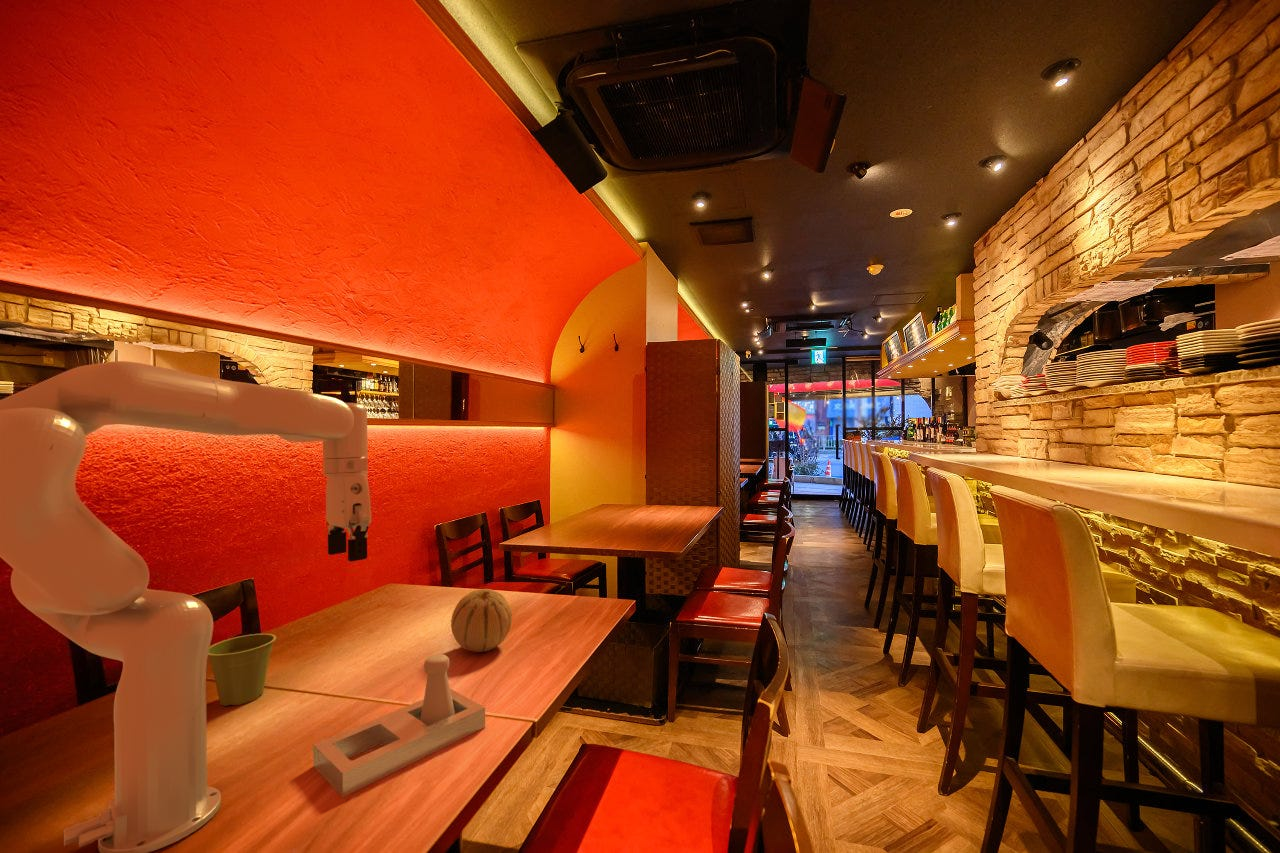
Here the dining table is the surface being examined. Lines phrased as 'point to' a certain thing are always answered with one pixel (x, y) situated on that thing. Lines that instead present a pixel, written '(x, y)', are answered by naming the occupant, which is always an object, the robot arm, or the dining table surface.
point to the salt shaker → (437, 691)
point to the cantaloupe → (481, 620)
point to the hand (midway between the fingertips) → (347, 556)
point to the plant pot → (241, 667)
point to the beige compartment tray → (392, 743)
